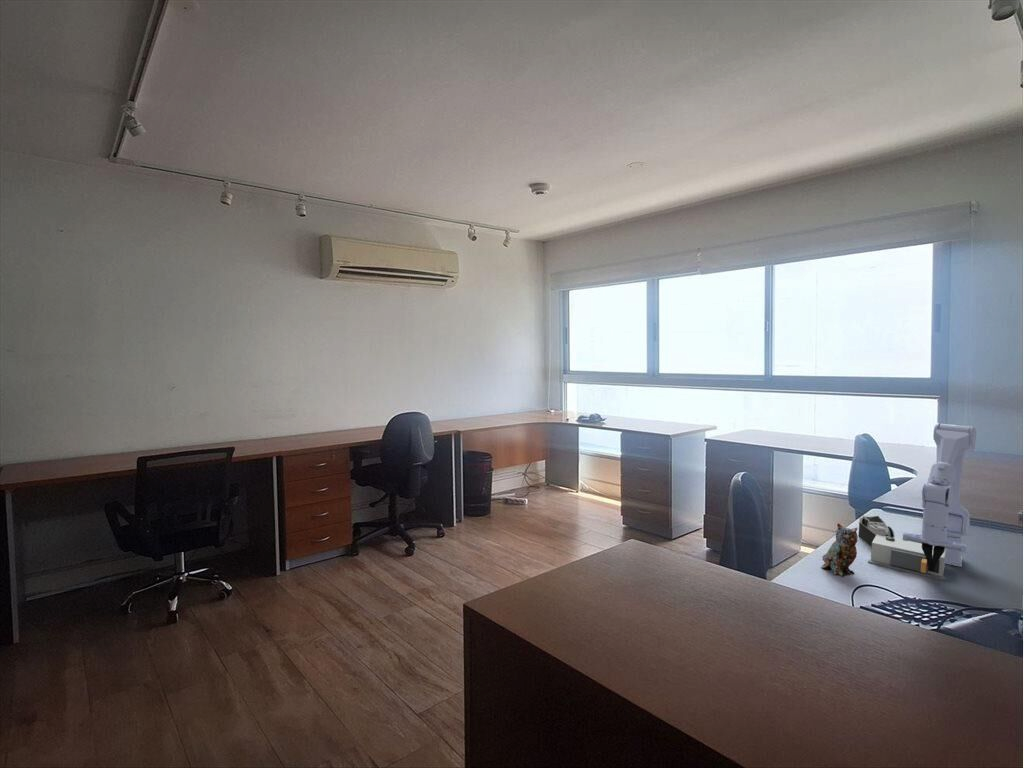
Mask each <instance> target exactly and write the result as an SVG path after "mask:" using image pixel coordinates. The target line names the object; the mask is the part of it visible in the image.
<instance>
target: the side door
mask: <svg viewBox="0 0 1024 768" xmlns="http://www.w3.org/2000/svg"><path fill="white" fill-rule="evenodd" d="M890 565H895V566H899V567H903V568H908V569H912V570H916V571H921V572H923V573H928V562H927V559H926V556H923V555H918V554H913V553H909V552H904V551H899V550H895V549H892V550H891V563H890Z"/></svg>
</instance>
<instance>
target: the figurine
mask: <svg viewBox="0 0 1024 768" xmlns="http://www.w3.org/2000/svg"><path fill="white" fill-rule="evenodd" d="M836 526H837V528H836V530H835V541H834V542H832V544H831V545H830V547H829V548H828V550H827V552H826V553H825V554H824V555H822V557H821V558H822V561H823V562H824V564H822V565H821V566H820V569H822V570H826V571H829V572H830V571H831V572H833V575H834V576H839V577H841V578H842V577H845V576H846V577H847V576H850V575H854V574H855V571H853V570H851V569H850V566H851V565H853V563H854V562H855V559H856V558H857V554H858V551H857V547H856V545H857V542H858V539H859V538H858V532H857V531H858V530H859V527H853V528H848V527H844V526H843V525H841V524H840V523H839V522H838V523H837V524H836Z"/></svg>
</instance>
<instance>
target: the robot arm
mask: <svg viewBox="0 0 1024 768" xmlns="http://www.w3.org/2000/svg"><path fill="white" fill-rule="evenodd" d="M932 438H933V440H934V443H935V445H936V447H937V448H938V449H939V451H938V459H937V462H936V463H933V464H932V466H931V467H930V473H929V476H928V479H927V482H926V483H924V484H923V486H922V490H921V499H922V503H921V504H922V505H921V506H922V508H923V514H922V515H923V516H922V524H921V525H922V526H921V527H922V529H921V534H917V533H916V534H915V533H909V532H903V534H902V540H903V541H912V542H916V543H921V544H922V550H923V552H924V554H925V556H926V559H927V562H928V569H929V570H930V571H934V570H935V566H936V564H937V562H938V560H939V558H940V557H941V556H942V554H943V553H944V550H945V548H946V555H945V564H946V565H951V566H955V567H962V566H963V556H962V553H964V554H965V553H967V552H966V551H967V544H965V543H963V537H965V536H967V535H968V534H969V532H970V525H971V520H970V516H971V515H970V514H971V513H970V512H969V511H970V510H968V509H967V508H966V507H964V506H963V505H962V504H961V503H960V499H961V492H962V482H963V481H962V480H963V470H964V461H965V458H966V456H967V454H968V453H972V452H974V450H975V449H976V448H975V447H976V441H977V428H976V427H975V426H973V425H971V426H970V425H961V424H960V425H958V424H948V423H940V422H937V423H936V424H935V425H934V427H933V437H932ZM933 546H934V549H933ZM932 551H933V562H932Z"/></svg>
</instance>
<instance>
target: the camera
mask: <svg viewBox="0 0 1024 768" xmlns="http://www.w3.org/2000/svg"><path fill="white" fill-rule="evenodd" d="M876 535H882V536H887V537H892V538H896V537H895V531H894V529H893V528H892V526H891V527H890V526H889V525H887V524H886V523H885V522H884V520H883V519H882V518H881V517H880V516H879V515H874V516H869V515H866V514H865V515H862V517H859V521H858V534H857V536H858V537H859V538H858V539H860V541H861V542H863V543H864V542H865V543H864V544H866V545H867V546H868V547H869V546H870V547H871V548H870V547H869V548H870V549H872V542H873V540H874V538H875V536H876Z"/></svg>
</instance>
